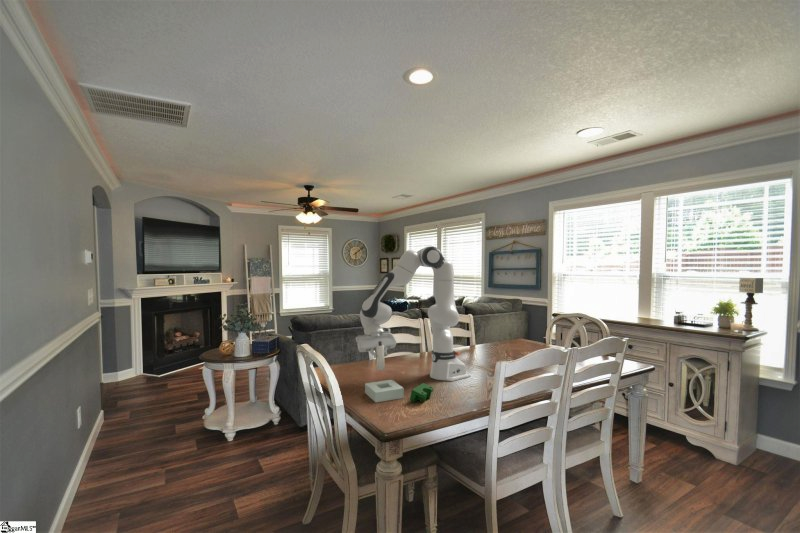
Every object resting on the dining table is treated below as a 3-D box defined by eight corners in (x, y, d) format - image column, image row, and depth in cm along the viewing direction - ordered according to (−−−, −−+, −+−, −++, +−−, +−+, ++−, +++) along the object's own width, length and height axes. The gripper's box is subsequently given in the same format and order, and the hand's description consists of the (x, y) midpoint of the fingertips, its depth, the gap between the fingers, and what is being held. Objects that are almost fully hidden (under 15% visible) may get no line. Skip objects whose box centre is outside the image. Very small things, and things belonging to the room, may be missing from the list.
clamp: (421, 412, 169) (421, 397, 164) (409, 406, 172) (409, 392, 167) (434, 395, 177) (434, 380, 173) (423, 390, 180) (423, 375, 176)
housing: (391, 388, 187) (391, 379, 187) (403, 397, 175) (403, 388, 175) (365, 392, 181) (365, 383, 181) (375, 402, 169) (375, 392, 169)
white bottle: (382, 367, 194) (382, 340, 193) (385, 369, 190) (385, 341, 190) (375, 368, 192) (374, 341, 192) (378, 370, 188) (377, 342, 188)
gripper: (355, 332, 193) (362, 355, 184) (392, 328, 201) (400, 350, 192) (353, 339, 197) (359, 362, 188) (389, 335, 205) (397, 357, 197)
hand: (380, 356), depth 190 cm, fingers closed on white bottle, 4 cm apart
